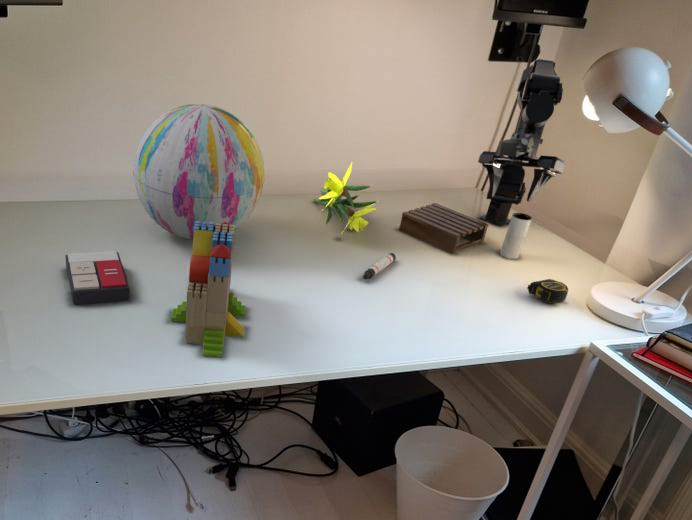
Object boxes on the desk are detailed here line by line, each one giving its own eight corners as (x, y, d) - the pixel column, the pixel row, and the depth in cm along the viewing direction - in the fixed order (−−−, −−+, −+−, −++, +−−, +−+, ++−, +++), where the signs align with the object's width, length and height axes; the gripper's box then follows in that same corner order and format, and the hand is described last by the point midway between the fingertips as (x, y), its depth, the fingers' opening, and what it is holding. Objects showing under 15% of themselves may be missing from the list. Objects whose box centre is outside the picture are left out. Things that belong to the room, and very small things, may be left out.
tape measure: (546, 290, 148) (552, 275, 146) (570, 304, 143) (576, 289, 141) (524, 294, 145) (530, 279, 143) (547, 308, 140) (553, 293, 138)
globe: (236, 208, 174) (245, 90, 157) (276, 257, 151) (292, 124, 134) (124, 213, 165) (121, 88, 148) (148, 266, 142) (147, 125, 125)
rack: (430, 220, 178) (434, 202, 175) (483, 242, 168) (489, 224, 165) (398, 230, 170) (402, 212, 167) (451, 254, 160) (457, 235, 157)
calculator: (71, 288, 123) (64, 250, 135) (73, 307, 126) (66, 269, 137) (129, 284, 127) (118, 248, 138) (129, 303, 129) (118, 265, 140)
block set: (180, 279, 138) (183, 191, 127) (246, 284, 138) (255, 197, 127) (163, 352, 115) (165, 252, 104) (242, 359, 115) (252, 260, 104)
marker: (387, 259, 155) (389, 251, 154) (394, 261, 154) (396, 254, 153) (358, 281, 144) (360, 272, 143) (366, 284, 143) (368, 275, 142)
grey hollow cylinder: (519, 254, 164) (532, 215, 158) (517, 260, 160) (531, 221, 154) (500, 249, 165) (513, 211, 159) (498, 256, 162) (511, 217, 156)
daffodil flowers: (363, 207, 185) (398, 222, 152) (317, 232, 186) (342, 252, 153) (337, 152, 180) (368, 156, 147) (290, 178, 181) (310, 188, 148)
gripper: (476, 121, 152) (458, 188, 156) (555, 124, 139) (533, 197, 143) (498, 133, 160) (480, 196, 163) (574, 137, 147) (553, 206, 150)
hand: (509, 198), depth 155 cm, fingers open, 9 cm apart
